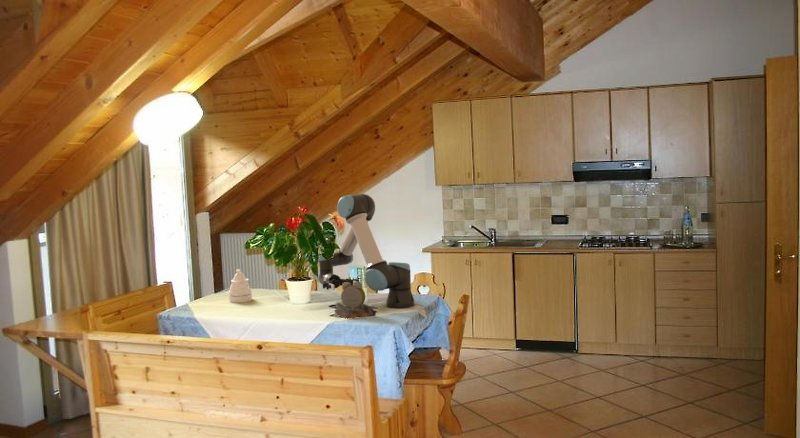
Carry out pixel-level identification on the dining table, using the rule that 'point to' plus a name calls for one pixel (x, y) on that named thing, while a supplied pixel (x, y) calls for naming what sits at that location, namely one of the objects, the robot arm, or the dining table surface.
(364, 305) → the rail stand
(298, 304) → the dining table surface
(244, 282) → the honey pot
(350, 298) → the alarm clock
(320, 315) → the dining table surface
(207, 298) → the dining table surface
